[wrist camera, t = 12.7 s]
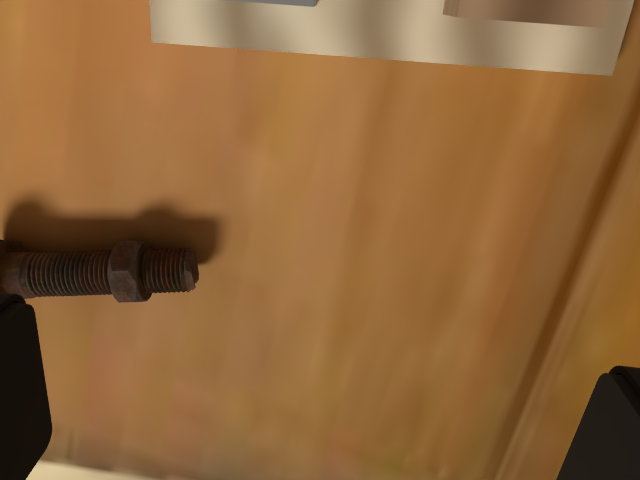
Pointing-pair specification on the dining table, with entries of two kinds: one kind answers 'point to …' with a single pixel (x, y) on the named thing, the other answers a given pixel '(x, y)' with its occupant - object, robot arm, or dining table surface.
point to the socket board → (411, 30)
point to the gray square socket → (283, 2)
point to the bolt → (97, 271)
